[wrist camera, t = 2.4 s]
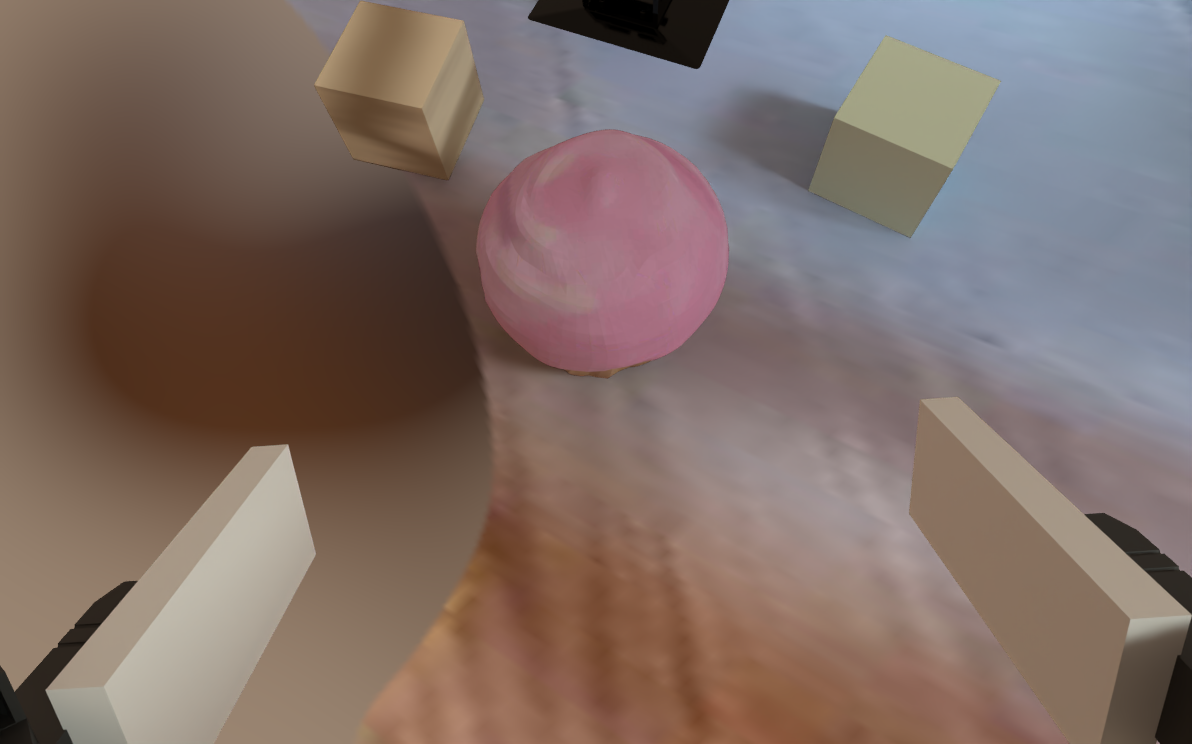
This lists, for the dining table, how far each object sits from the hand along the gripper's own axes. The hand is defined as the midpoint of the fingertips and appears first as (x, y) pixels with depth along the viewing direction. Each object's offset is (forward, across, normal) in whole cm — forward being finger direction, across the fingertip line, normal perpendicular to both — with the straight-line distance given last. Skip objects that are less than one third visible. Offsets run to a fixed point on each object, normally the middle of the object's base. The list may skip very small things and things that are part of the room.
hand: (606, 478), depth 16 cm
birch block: (+26, -8, +5) cm, 28 cm away
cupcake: (+18, 0, -3) cm, 18 cm away
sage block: (+22, +13, +2) cm, 26 cm away
